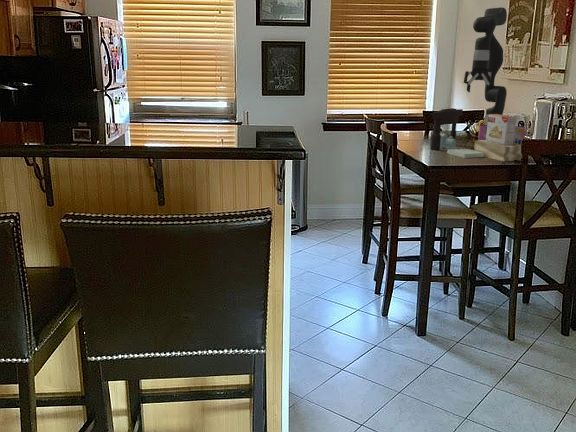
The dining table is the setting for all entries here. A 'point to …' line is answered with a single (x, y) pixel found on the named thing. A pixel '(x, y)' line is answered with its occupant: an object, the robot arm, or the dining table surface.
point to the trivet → (465, 153)
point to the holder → (499, 150)
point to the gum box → (518, 133)
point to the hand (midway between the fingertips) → (477, 92)
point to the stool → (442, 119)
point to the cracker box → (501, 129)
